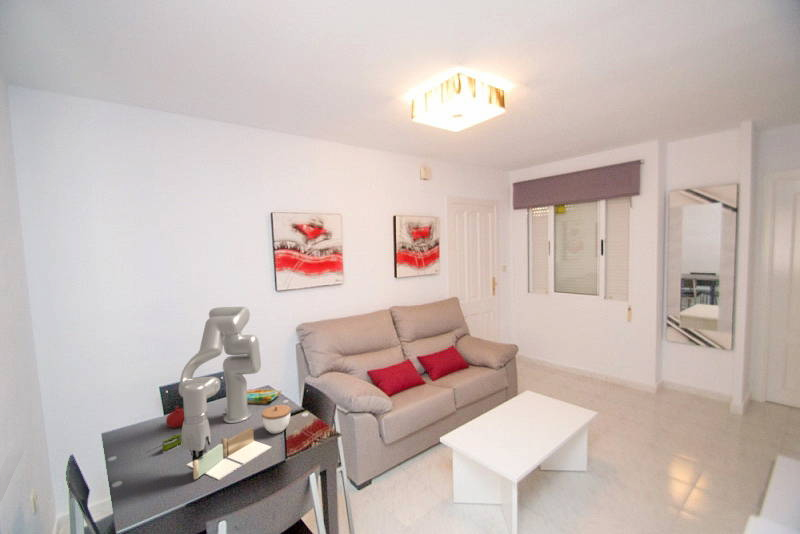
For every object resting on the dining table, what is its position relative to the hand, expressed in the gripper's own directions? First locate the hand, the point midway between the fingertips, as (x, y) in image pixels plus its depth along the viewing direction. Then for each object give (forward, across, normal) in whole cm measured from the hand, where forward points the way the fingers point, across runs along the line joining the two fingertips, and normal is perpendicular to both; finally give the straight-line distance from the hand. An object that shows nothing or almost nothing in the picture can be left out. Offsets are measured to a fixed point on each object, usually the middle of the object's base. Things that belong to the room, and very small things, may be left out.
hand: (198, 464), depth 133 cm
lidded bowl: (+3, +8, +36) cm, 37 cm away
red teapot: (+3, -43, +26) cm, 50 cm away
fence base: (+2, +4, +16) cm, 17 cm away
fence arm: (+2, +3, +2) cm, 4 cm away
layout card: (+3, +4, +12) cm, 13 cm away
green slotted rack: (+3, -27, +8) cm, 28 cm away
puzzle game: (+3, -24, +61) cm, 66 cm away
